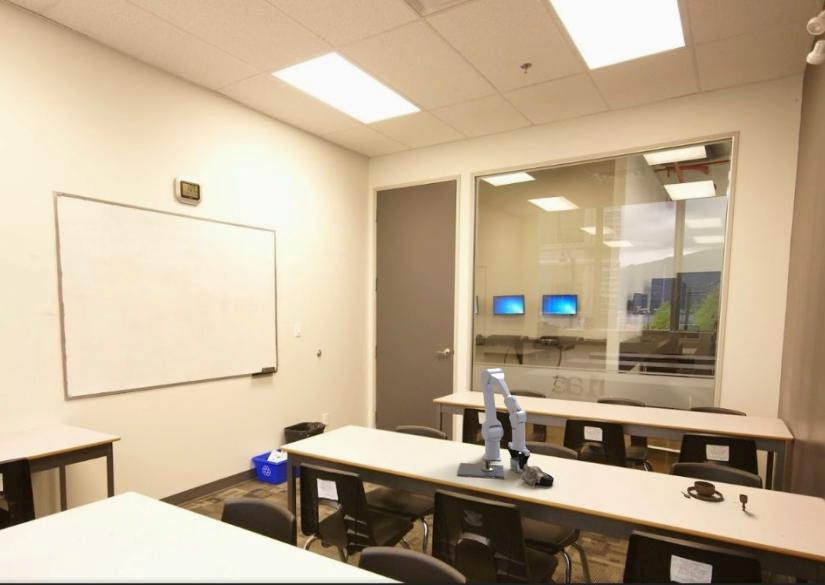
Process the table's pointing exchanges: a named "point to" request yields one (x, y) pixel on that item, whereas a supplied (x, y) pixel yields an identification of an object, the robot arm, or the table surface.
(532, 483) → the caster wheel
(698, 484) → the place setting
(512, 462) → the collar
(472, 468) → the plate
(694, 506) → the table surface
